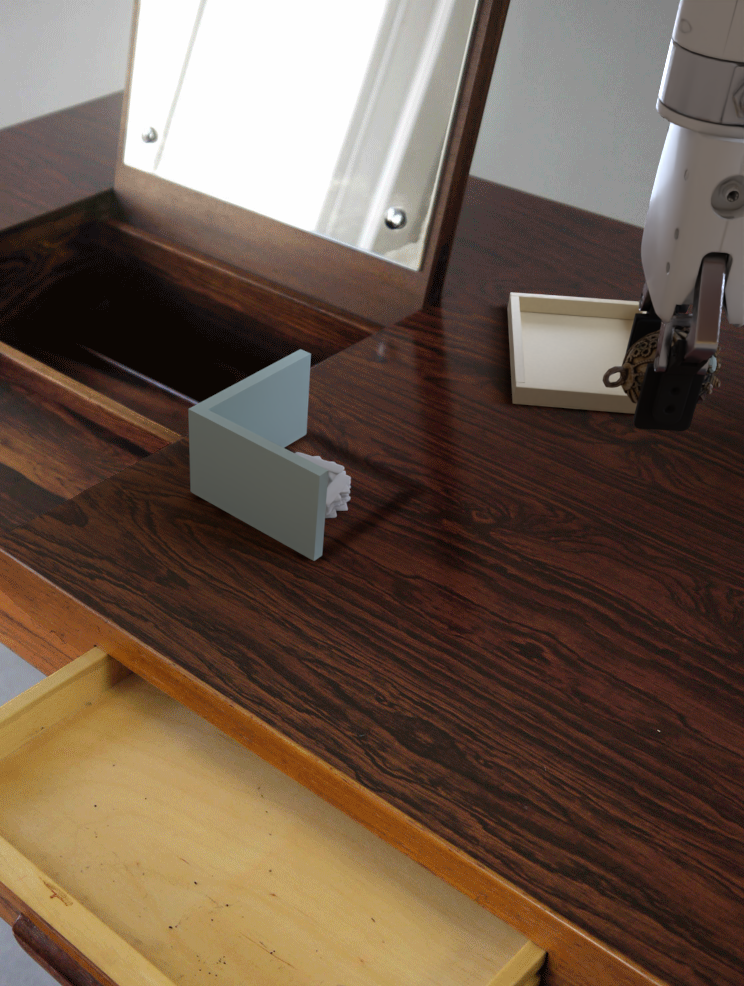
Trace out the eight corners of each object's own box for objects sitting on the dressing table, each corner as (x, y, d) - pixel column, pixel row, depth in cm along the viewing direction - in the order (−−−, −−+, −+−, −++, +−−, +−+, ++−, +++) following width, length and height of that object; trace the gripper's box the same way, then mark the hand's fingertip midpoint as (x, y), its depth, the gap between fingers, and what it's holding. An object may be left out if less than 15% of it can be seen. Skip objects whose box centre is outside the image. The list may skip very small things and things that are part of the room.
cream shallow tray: (506, 312, 107) (510, 291, 105) (643, 323, 106) (648, 301, 104) (511, 409, 94) (515, 386, 93) (667, 422, 93) (673, 399, 92)
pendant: (730, 420, 69) (755, 344, 65) (615, 439, 67) (635, 362, 64) (686, 379, 72) (707, 305, 69) (576, 396, 71) (593, 322, 67)
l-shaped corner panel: (313, 567, 79) (319, 475, 73) (190, 497, 84) (188, 408, 79) (417, 494, 85) (429, 406, 80) (296, 435, 91) (300, 349, 86)
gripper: (860, 146, 51) (741, 484, 63) (781, 36, 63) (695, 337, 76) (687, 140, 52) (603, 475, 64) (643, 32, 64) (580, 331, 76)
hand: (654, 397), depth 70 cm, fingers closed on pendant, 5 cm apart
